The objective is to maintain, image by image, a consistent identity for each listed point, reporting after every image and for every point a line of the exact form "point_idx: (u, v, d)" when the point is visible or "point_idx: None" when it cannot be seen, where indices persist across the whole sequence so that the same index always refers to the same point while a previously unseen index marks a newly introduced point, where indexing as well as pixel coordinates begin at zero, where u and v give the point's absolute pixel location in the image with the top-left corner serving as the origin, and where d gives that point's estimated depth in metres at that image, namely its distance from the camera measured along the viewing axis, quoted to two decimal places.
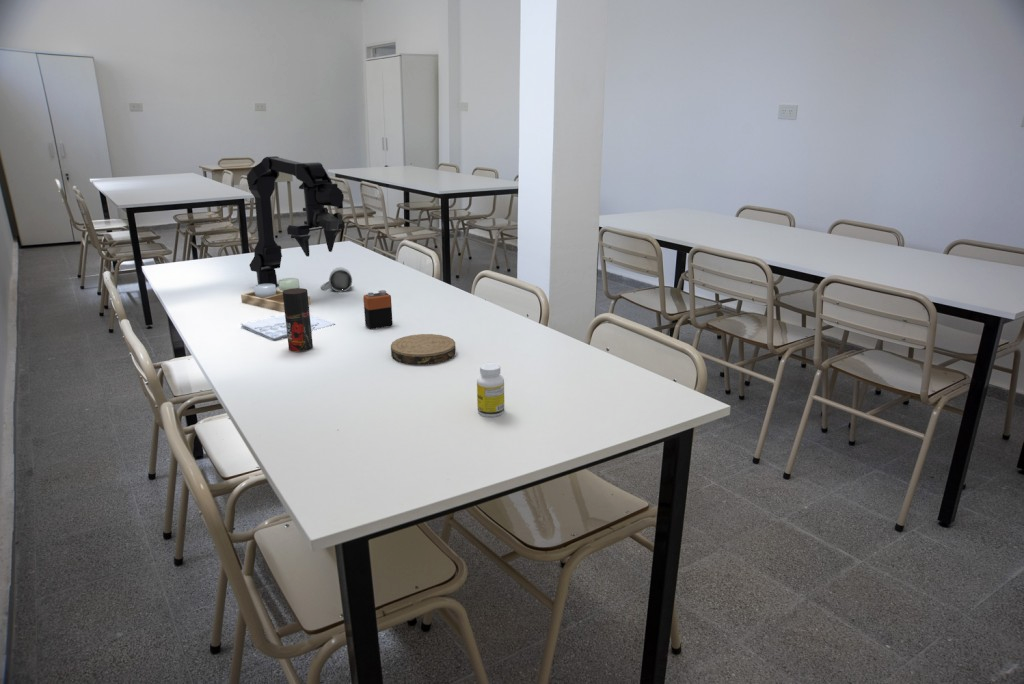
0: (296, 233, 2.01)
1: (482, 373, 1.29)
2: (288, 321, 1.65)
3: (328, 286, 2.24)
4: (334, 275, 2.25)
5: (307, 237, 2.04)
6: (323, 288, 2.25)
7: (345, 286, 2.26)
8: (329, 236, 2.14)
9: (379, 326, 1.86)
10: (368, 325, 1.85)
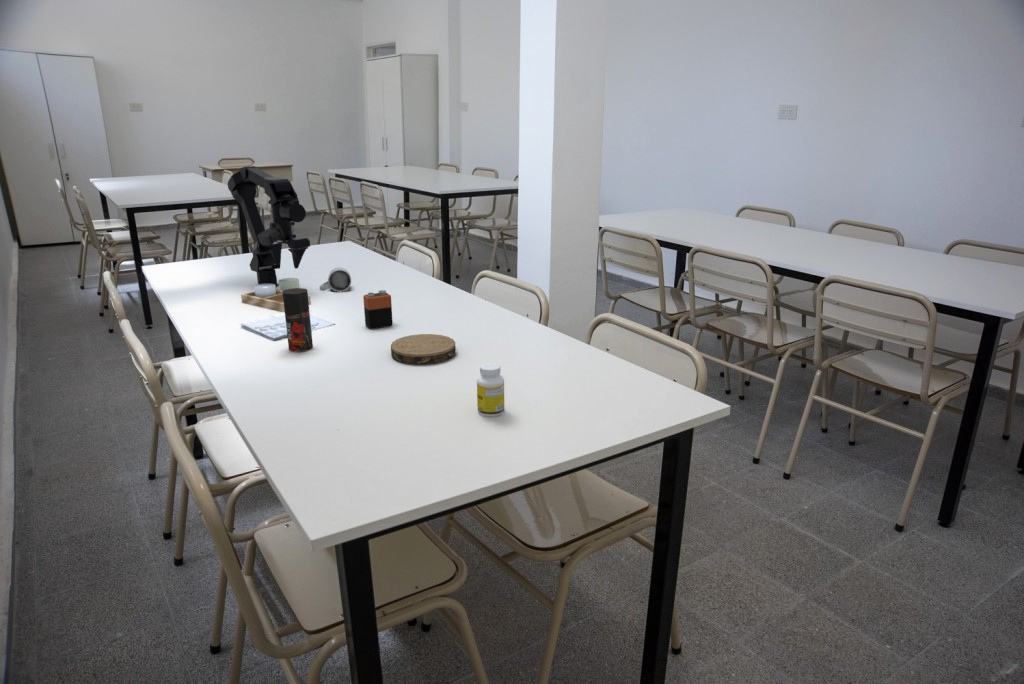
0: None
1: (482, 373, 1.29)
2: (288, 321, 1.65)
3: (327, 286, 2.24)
4: (333, 275, 2.25)
5: (266, 246, 2.18)
6: (322, 288, 2.25)
7: (344, 286, 2.26)
8: None
9: (379, 326, 1.86)
10: (368, 325, 1.85)
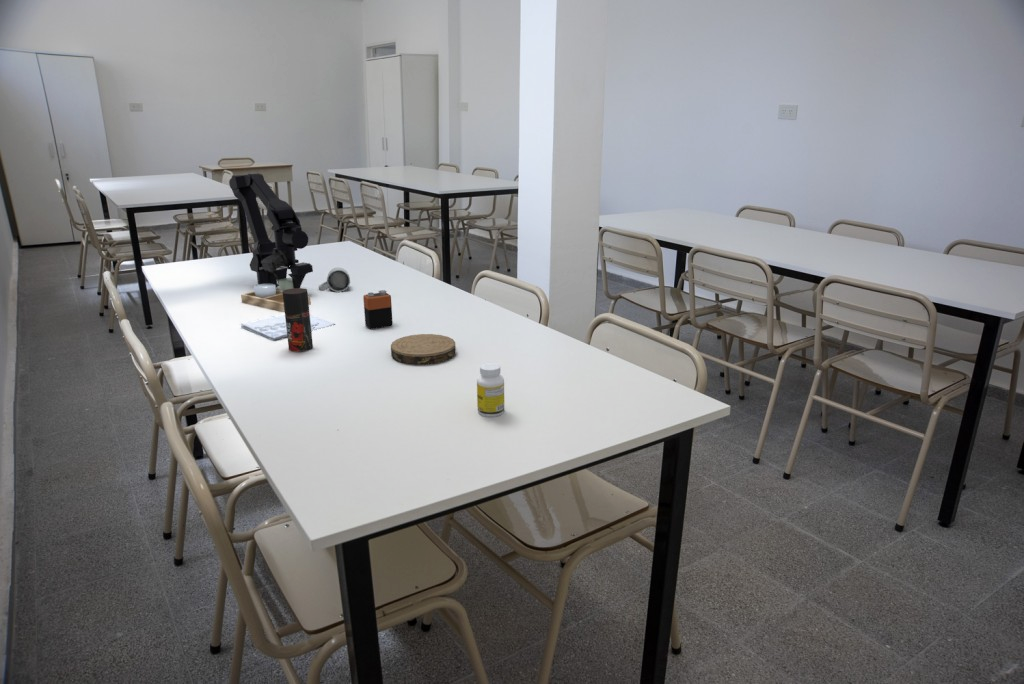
0: None
1: (482, 373, 1.29)
2: (288, 321, 1.65)
3: (326, 286, 2.24)
4: (332, 275, 2.24)
5: (271, 272, 2.20)
6: (321, 288, 2.25)
7: (343, 286, 2.26)
8: None
9: (379, 326, 1.86)
10: (368, 325, 1.85)
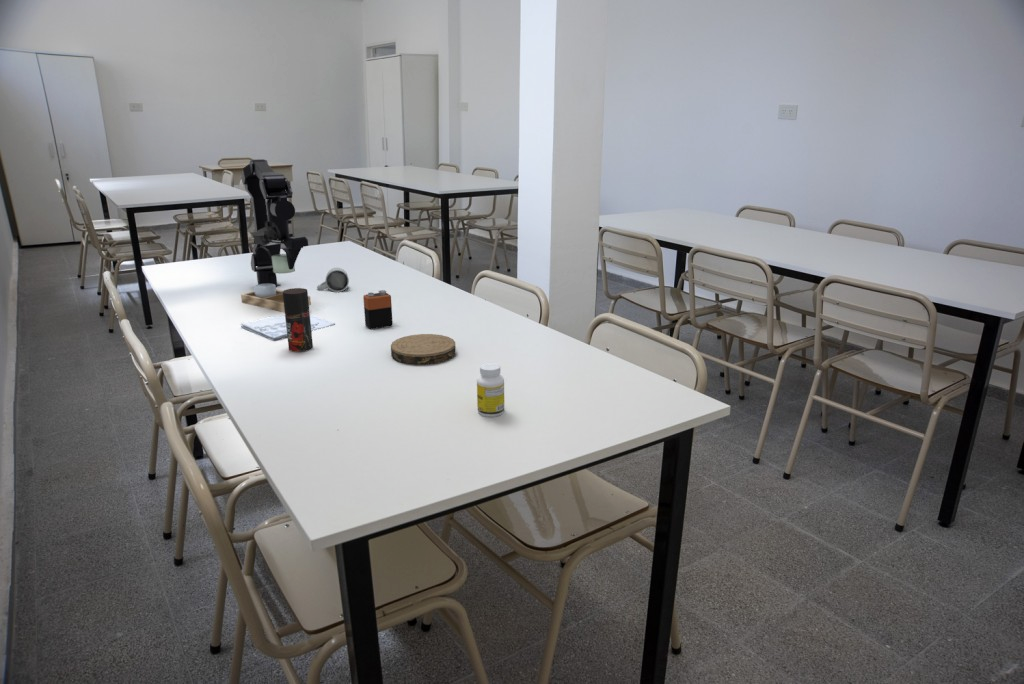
0: None
1: (482, 373, 1.29)
2: (288, 321, 1.65)
3: (324, 286, 2.24)
4: (331, 275, 2.24)
5: (264, 247, 2.04)
6: (319, 288, 2.25)
7: (342, 286, 2.26)
8: None
9: (379, 326, 1.86)
10: (368, 325, 1.85)
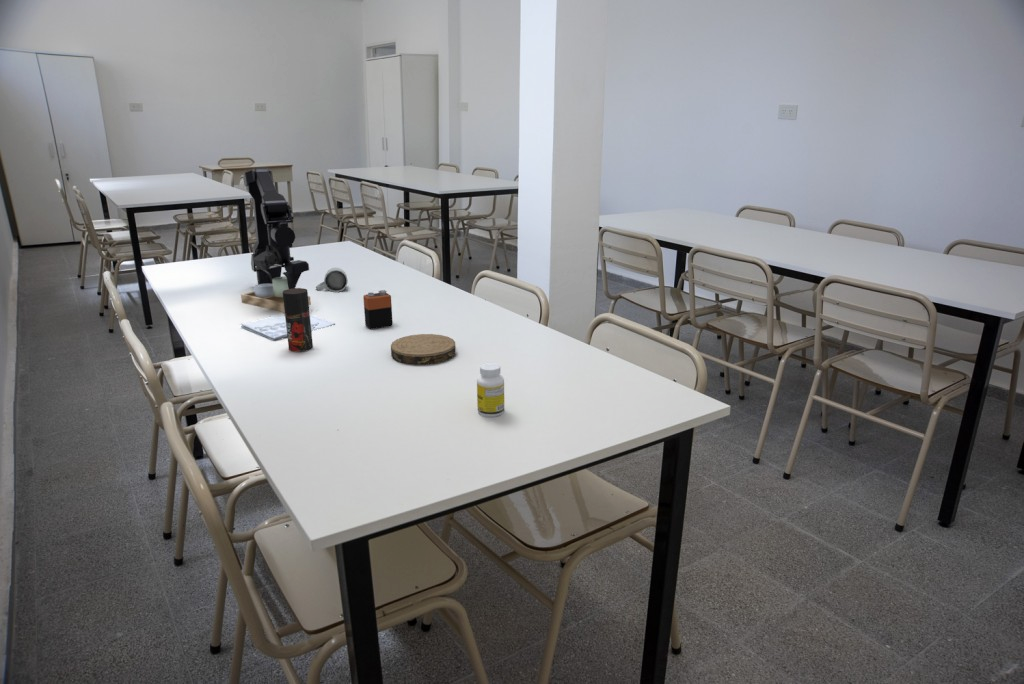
0: None
1: (482, 373, 1.29)
2: (288, 321, 1.65)
3: (323, 286, 2.24)
4: (329, 275, 2.24)
5: (264, 270, 2.04)
6: (318, 288, 2.25)
7: (340, 286, 2.26)
8: None
9: (379, 326, 1.86)
10: (368, 325, 1.85)
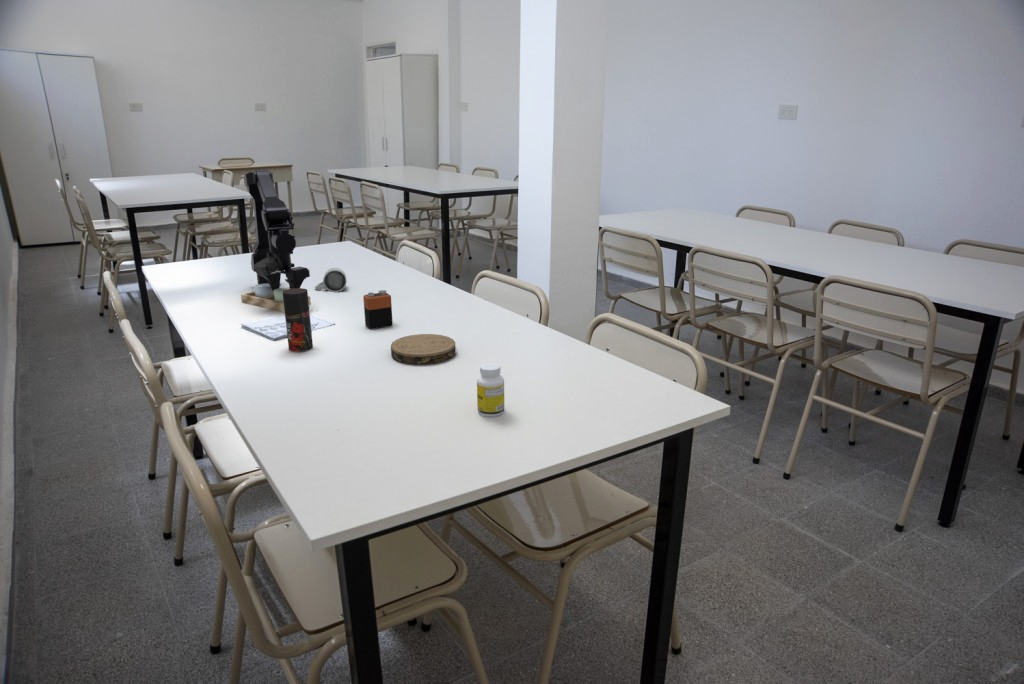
0: None
1: (482, 373, 1.29)
2: (288, 321, 1.65)
3: (322, 286, 2.24)
4: (328, 275, 2.24)
5: (264, 276, 2.05)
6: (317, 288, 2.25)
7: (339, 286, 2.26)
8: None
9: (379, 326, 1.86)
10: (368, 325, 1.85)
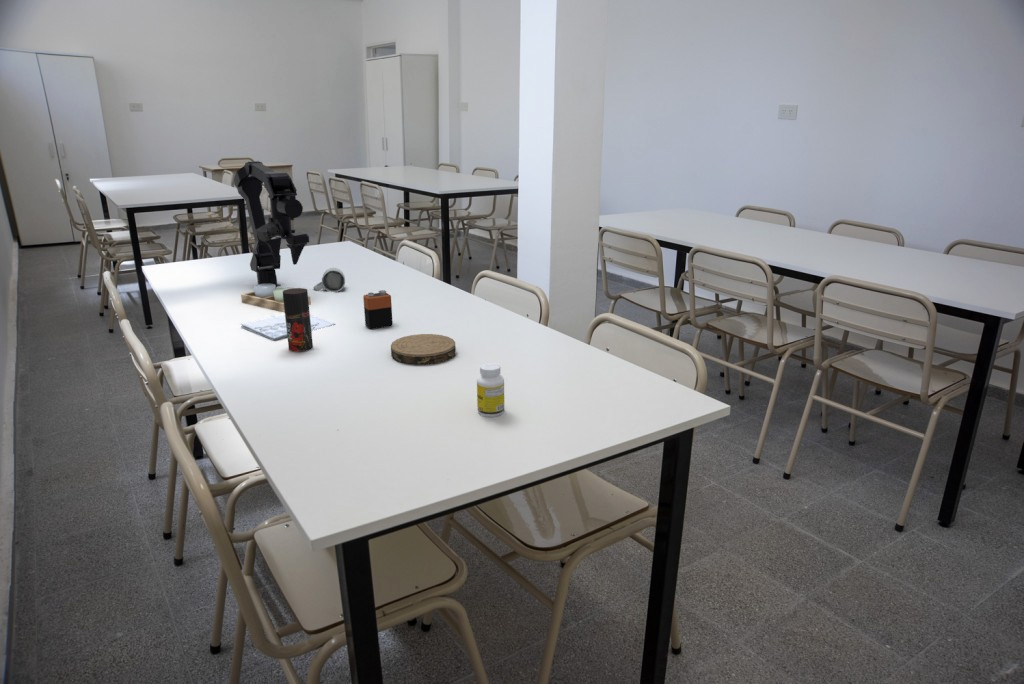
0: None
1: (482, 373, 1.29)
2: (288, 321, 1.65)
3: (321, 286, 2.24)
4: (327, 275, 2.24)
5: (265, 241, 2.14)
6: (316, 288, 2.24)
7: (338, 286, 2.26)
8: None
9: (379, 326, 1.86)
10: (368, 325, 1.85)
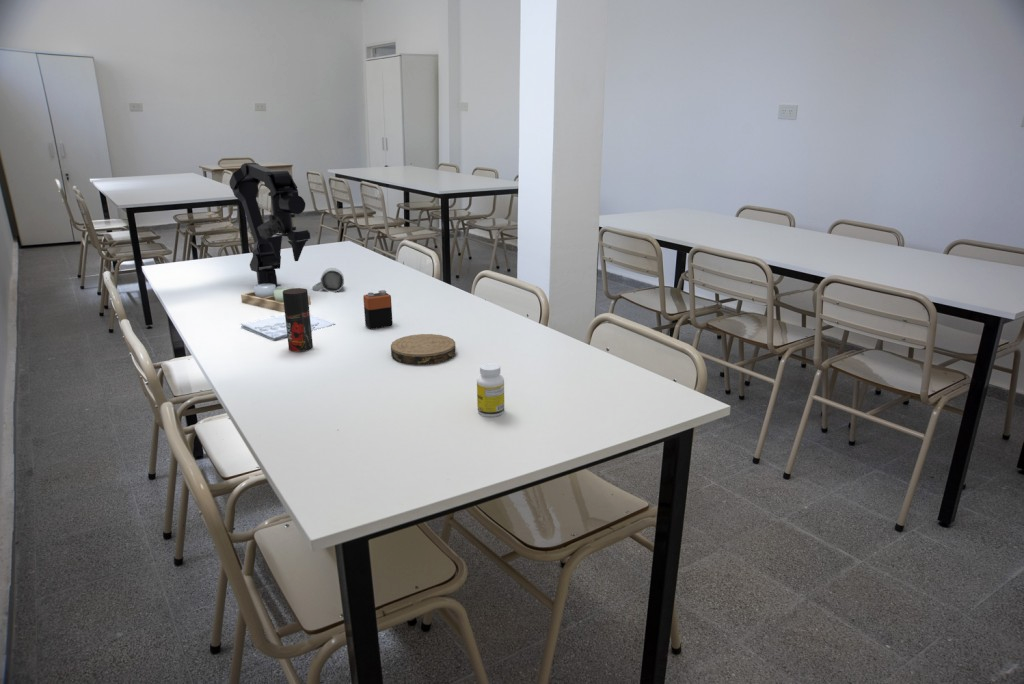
0: None
1: (482, 373, 1.29)
2: (288, 321, 1.65)
3: (320, 286, 2.24)
4: (326, 275, 2.24)
5: (266, 239, 2.16)
6: (315, 288, 2.24)
7: (337, 287, 2.26)
8: None
9: (379, 326, 1.86)
10: (368, 325, 1.85)
